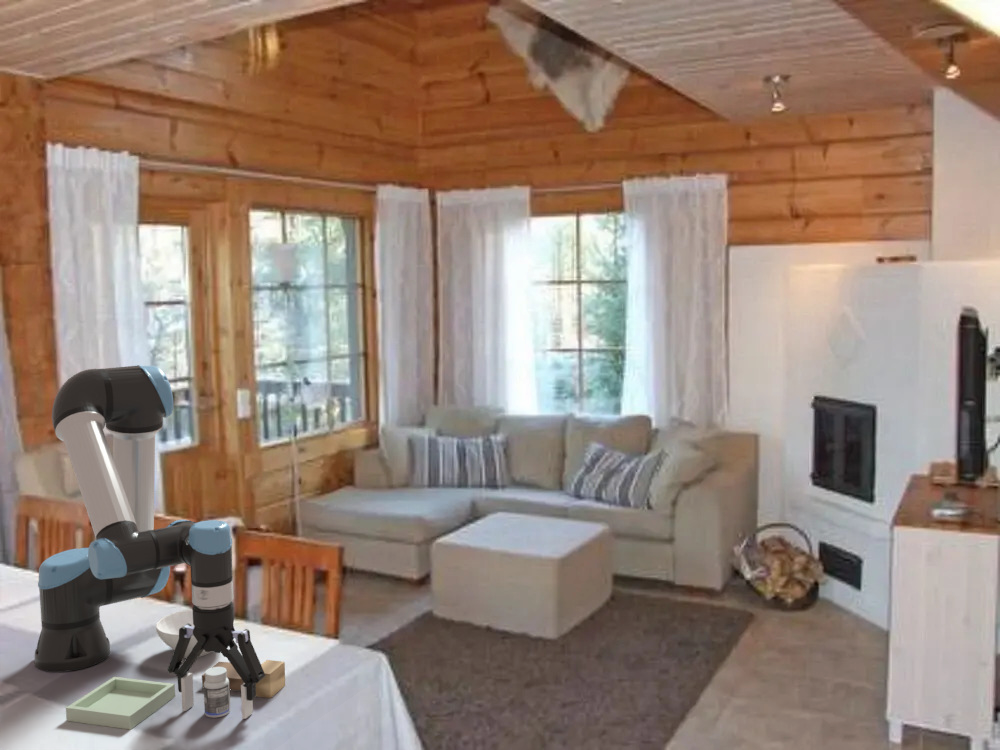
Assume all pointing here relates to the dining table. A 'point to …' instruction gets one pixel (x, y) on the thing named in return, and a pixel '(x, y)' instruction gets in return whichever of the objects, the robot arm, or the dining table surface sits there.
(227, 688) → the pill bottle
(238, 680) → the brown cardboard box
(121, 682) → the tray
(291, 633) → the dining table surface
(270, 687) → the wooden block
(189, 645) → the bowl
